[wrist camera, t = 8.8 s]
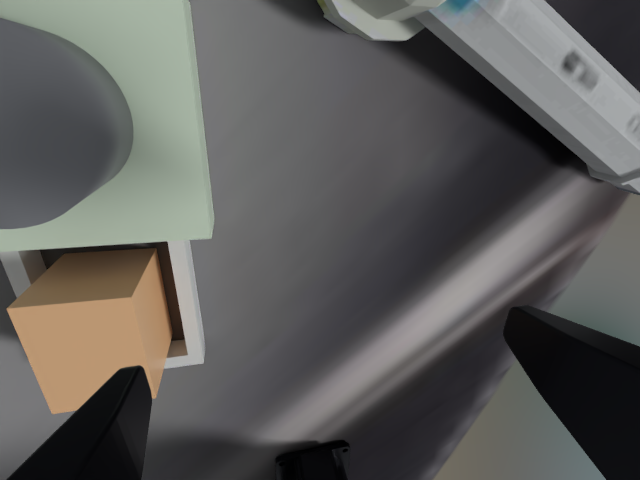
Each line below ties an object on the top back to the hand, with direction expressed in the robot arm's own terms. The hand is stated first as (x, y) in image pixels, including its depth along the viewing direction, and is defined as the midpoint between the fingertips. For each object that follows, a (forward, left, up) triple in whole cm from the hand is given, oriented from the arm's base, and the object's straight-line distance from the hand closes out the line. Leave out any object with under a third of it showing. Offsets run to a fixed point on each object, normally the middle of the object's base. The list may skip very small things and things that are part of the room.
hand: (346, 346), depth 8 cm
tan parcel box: (-6, +9, -12) cm, 16 cm away
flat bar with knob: (+6, -13, -13) cm, 19 cm away
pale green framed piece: (-1, +9, -12) cm, 15 cm away
